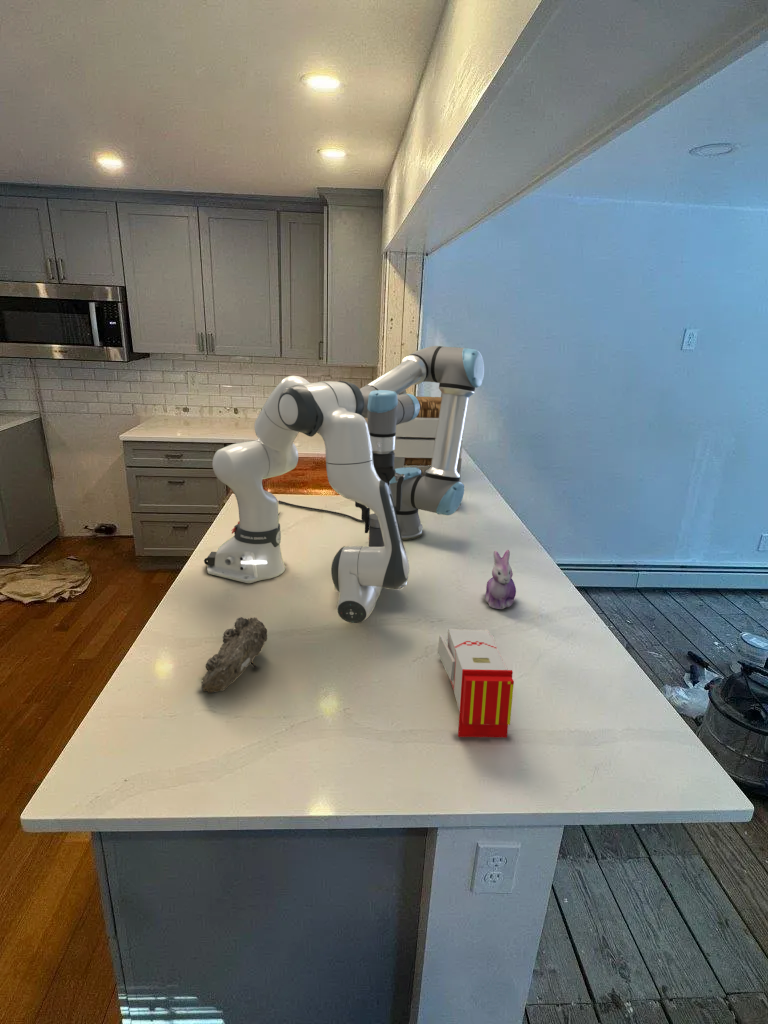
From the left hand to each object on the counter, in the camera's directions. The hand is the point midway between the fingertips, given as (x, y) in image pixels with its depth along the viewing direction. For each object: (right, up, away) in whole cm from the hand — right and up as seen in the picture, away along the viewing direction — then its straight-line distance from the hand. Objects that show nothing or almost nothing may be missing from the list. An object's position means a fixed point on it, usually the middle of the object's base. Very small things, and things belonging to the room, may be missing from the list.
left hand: (376, 562), depth 161 cm
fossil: (-29, -19, -38) cm, 52 cm away
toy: (+20, -23, -43) cm, 53 cm away
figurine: (+34, -11, -6) cm, 36 cm away
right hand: (0, +9, -4) cm, 10 cm away
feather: (-37, +13, +50) cm, 63 cm away
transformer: (+19, +33, +114) cm, 120 cm away
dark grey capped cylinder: (0, -6, +1) cm, 7 cm away
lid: (0, +13, -6) cm, 14 cm away
